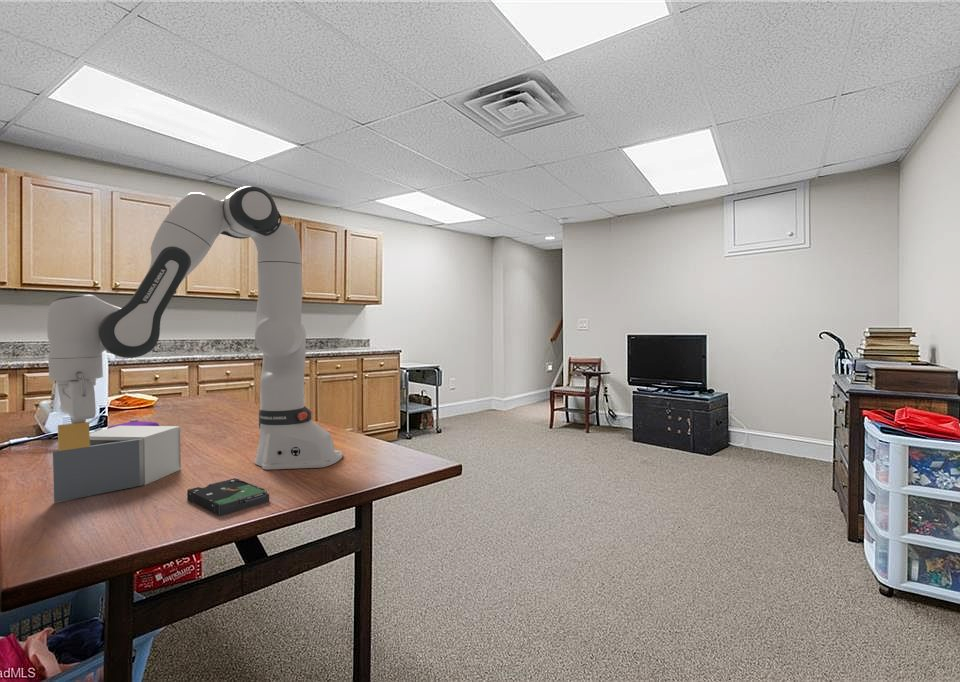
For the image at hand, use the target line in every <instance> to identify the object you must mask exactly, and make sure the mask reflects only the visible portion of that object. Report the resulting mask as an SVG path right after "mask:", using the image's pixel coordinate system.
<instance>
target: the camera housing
mask: <svg viewBox="0 0 960 682" xmlns="http://www.w3.org/2000/svg"><path fill="white" fill-rule="evenodd" d="M107 428H108V427H107ZM107 428H103V429H101V430H97V431H93V432H89V435H90V446H93V445H100V444H107V443H114V442H121V441H128V440H135V439H143V476H144V485H143V486H147V485H149V484H151V483H153V482H155V481H158V480H160V479H162V478H164V477H167V476H169V475H171V474H174V473H177V472H179V471H180V470H182V468H181V467H182V466H181V465H182V463H181V461H182V458H181V426H179V425H177V426H175V425H174V426H173V425H169V426H168V425H159V426H116V427H112V428H108V429H107Z"/></svg>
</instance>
